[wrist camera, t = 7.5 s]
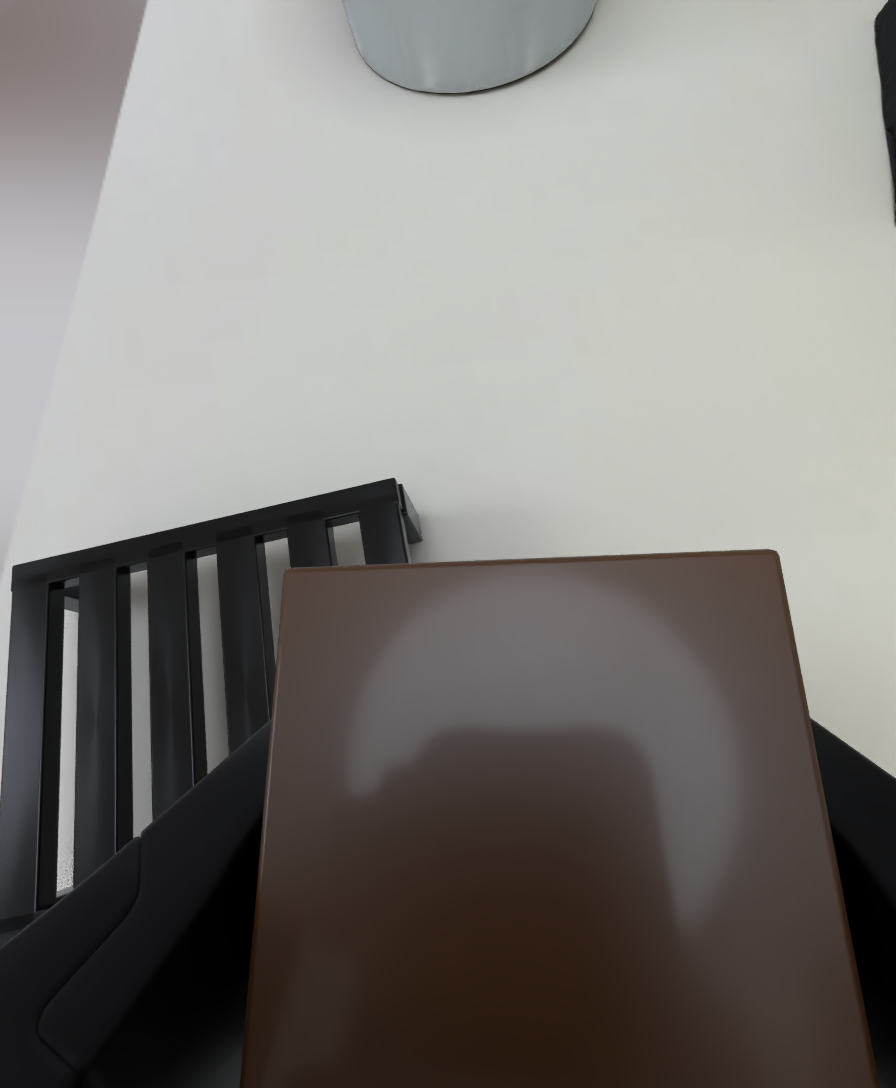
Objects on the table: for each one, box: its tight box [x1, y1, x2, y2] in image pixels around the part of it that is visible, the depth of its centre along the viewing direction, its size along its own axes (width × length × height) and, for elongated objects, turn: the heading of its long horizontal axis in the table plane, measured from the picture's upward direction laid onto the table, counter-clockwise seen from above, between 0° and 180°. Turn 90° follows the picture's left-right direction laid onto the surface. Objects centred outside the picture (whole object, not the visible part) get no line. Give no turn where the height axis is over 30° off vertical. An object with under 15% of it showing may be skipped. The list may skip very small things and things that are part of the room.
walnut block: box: [239, 549, 880, 1088], centre depth 9 cm, size 4×4×10 cm
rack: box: [0, 478, 423, 947], centre depth 20 cm, size 14×12×4 cm
